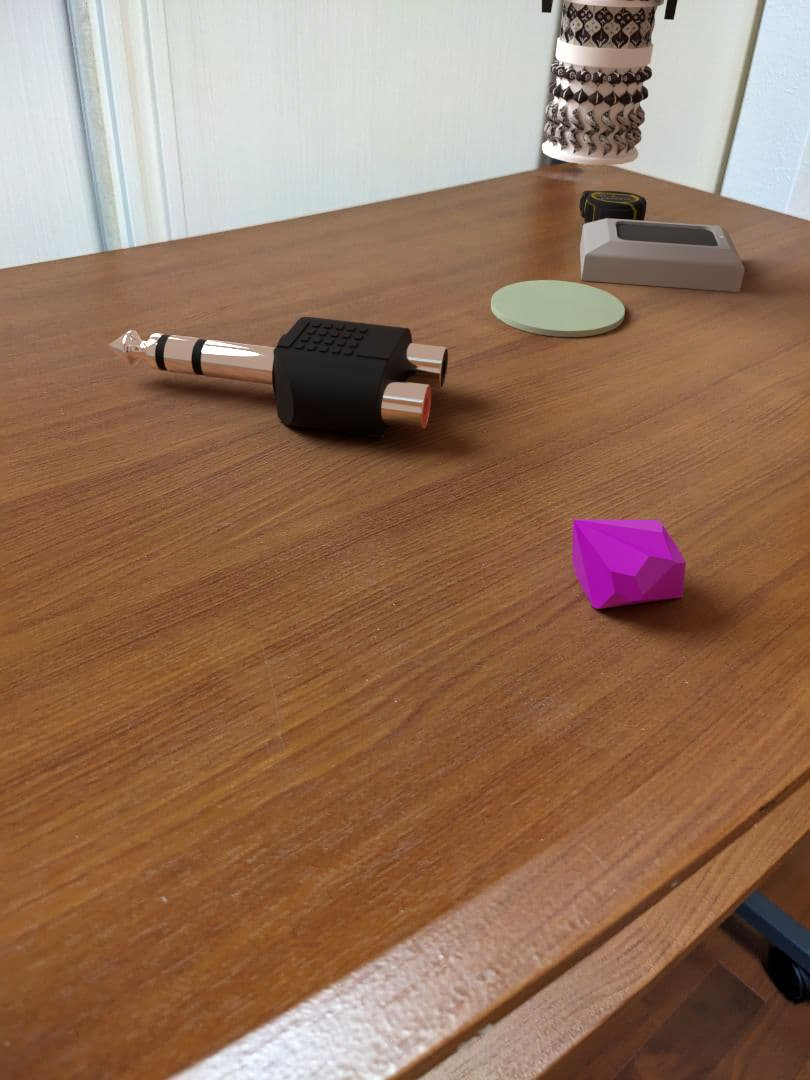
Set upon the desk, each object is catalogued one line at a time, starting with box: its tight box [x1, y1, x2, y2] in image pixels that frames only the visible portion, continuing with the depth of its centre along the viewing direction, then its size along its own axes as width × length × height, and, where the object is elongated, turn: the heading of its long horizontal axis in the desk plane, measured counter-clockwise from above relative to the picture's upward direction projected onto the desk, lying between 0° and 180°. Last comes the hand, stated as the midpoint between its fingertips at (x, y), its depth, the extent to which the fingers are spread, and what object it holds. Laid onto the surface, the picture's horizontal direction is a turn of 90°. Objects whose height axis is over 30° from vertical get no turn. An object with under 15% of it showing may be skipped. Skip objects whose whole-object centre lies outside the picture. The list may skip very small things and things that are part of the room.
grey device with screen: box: [579, 218, 746, 293], centre depth 92 cm, size 10×4×15 cm
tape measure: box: [578, 190, 647, 224], centre depth 102 cm, size 7×7×4 cm
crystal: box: [571, 518, 687, 610], centre depth 49 cm, size 5×5×5 cm
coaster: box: [490, 279, 626, 338], centre depth 83 cm, size 12×12×1 cm
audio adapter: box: [107, 316, 449, 438], centre depth 67 cm, size 11×5×25 cm
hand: (608, 3), depth 72 cm, fingers closed on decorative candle, 9 cm apart
